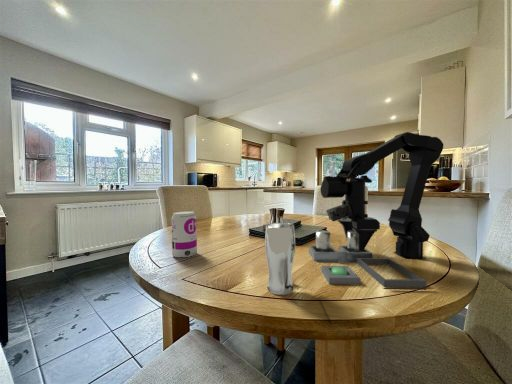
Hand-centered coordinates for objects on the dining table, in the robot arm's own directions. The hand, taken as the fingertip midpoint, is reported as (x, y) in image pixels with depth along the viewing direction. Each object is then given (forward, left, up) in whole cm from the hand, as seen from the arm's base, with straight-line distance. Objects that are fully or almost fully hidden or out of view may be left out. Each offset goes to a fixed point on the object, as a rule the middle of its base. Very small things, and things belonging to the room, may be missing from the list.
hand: (354, 246), depth 66 cm
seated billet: (+10, 0, -4) cm, 11 cm away
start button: (+10, +15, -4) cm, 18 cm away
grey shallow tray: (+5, 0, -4) cm, 7 cm away
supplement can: (+57, -4, -5) cm, 57 cm away
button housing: (+10, +15, -4) cm, 19 cm away
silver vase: (+25, +19, -5) cm, 32 cm away
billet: (0, 0, -4) cm, 4 cm away
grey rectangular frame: (-3, +13, -4) cm, 14 cm away
